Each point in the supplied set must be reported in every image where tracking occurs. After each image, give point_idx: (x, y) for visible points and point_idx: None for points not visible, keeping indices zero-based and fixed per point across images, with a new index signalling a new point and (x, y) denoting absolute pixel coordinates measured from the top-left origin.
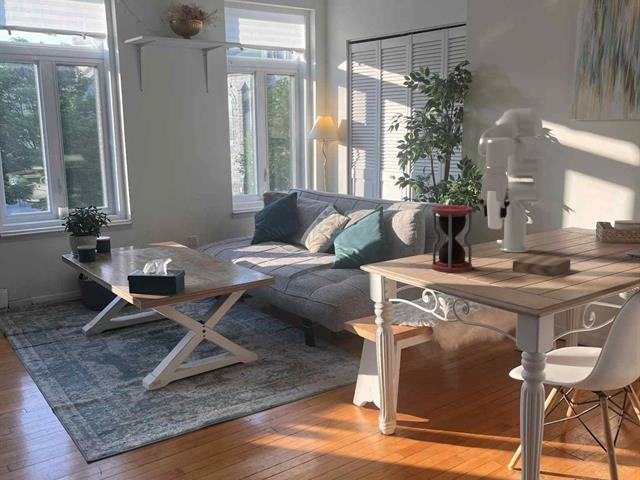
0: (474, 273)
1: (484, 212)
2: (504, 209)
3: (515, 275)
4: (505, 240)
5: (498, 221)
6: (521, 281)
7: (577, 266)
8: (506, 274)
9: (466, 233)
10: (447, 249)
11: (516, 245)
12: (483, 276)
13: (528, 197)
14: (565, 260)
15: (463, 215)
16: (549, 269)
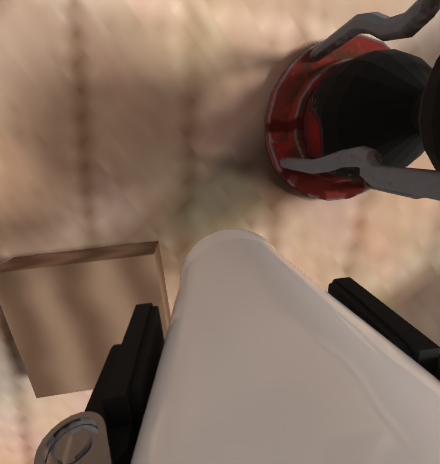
0: (227, 113)
1: (374, 297)
2: (88, 407)
3: (106, 192)
4: None
5: (182, 280)
6: (23, 125)
7: (68, 410)
8: (137, 183)
9: (378, 157)
10: (388, 55)
11: None
12: (173, 94)
13: None
14: (35, 377)
15: None
16: (5, 267)
